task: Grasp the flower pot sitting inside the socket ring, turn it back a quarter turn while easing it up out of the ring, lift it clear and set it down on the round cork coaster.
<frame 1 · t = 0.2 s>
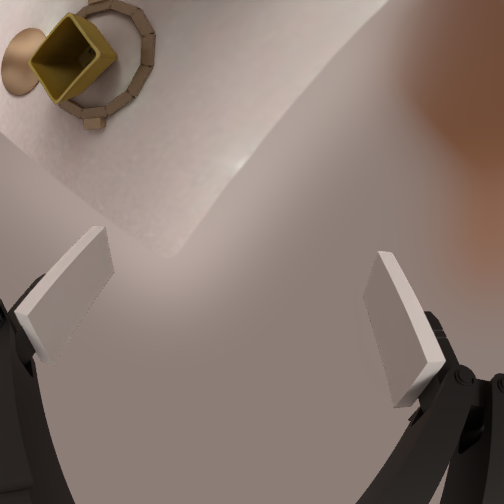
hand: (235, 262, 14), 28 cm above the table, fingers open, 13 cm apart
socket ring: (97, 58, 31), on the table
flower pot: (98, 58, 32), resting in socket ring
coaster: (23, 61, 30), on the table
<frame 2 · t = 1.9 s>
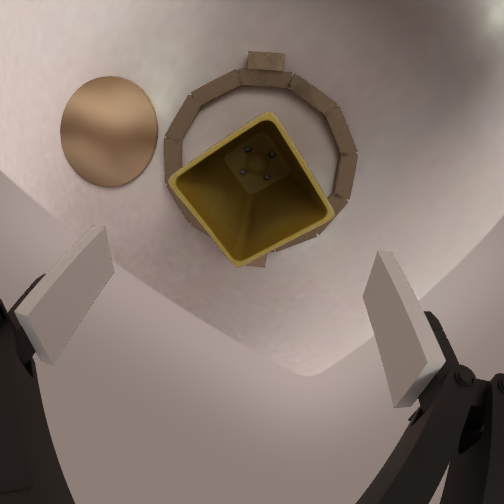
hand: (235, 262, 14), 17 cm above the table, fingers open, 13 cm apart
socket ring: (258, 163, 28), on the table
flower pot: (259, 162, 28), resting in socket ring
coaster: (106, 131, 27), on the table
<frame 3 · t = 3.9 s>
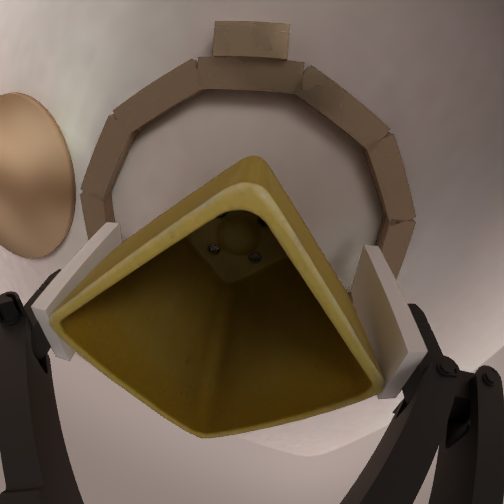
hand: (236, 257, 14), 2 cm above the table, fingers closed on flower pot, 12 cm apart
socket ring: (241, 233, 16), on the table
flower pot: (241, 232, 16), resting in socket ring, touching gripper
coaster: (12, 178, 15), on the table
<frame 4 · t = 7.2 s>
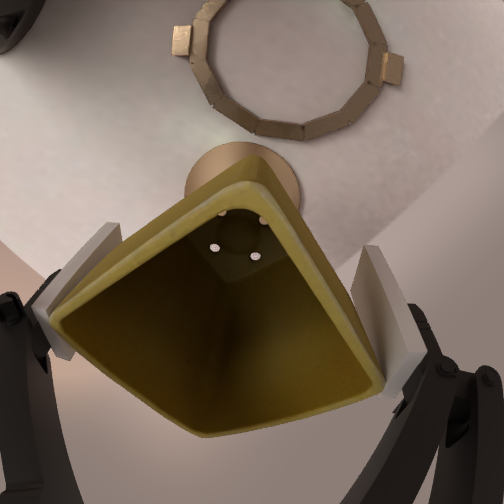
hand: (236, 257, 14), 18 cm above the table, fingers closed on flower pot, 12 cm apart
socket ring: (289, 47, 23), on the table
flower pot: (241, 231, 16), point 15 cm above the table, touching gripper
coaster: (241, 197, 31), on the table
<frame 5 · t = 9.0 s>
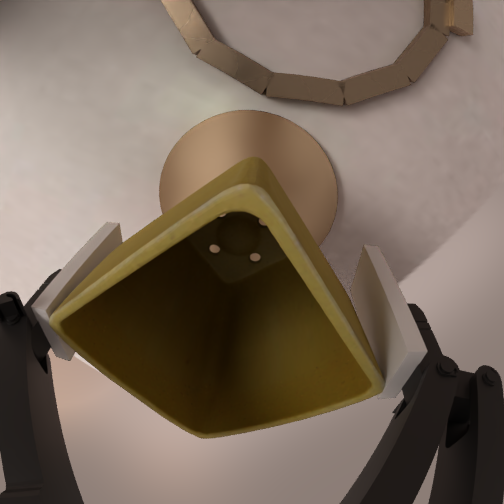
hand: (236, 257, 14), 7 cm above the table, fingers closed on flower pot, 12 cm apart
flower pot: (241, 232, 16), point 5 cm above the table, touching gripper
coaster: (247, 198, 20), on the table
when the fingers open (4 cm above the table, at t = 10.6 s): flower pot drops 1 cm, resting on coaster.
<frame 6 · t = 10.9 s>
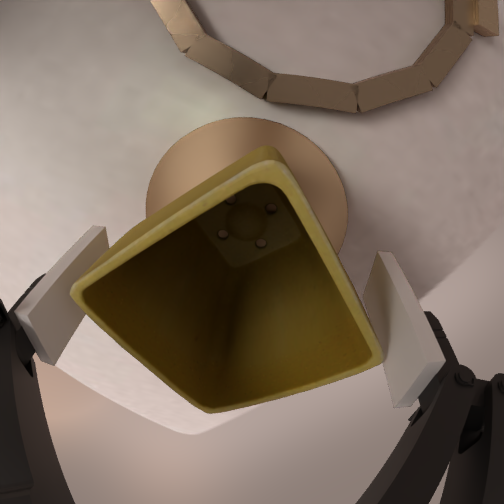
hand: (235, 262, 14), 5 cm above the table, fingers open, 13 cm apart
flower pot: (249, 219, 18), resting on coaster
coaster: (244, 218, 18), on the table
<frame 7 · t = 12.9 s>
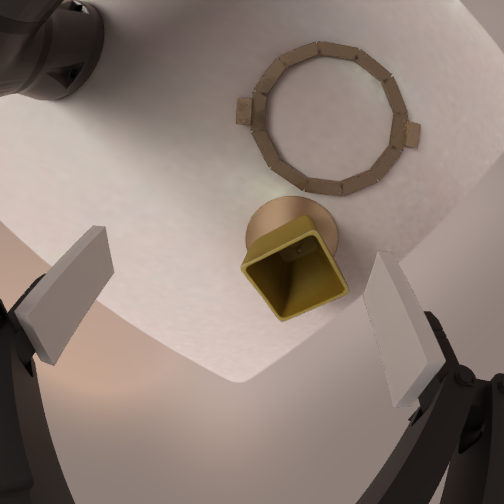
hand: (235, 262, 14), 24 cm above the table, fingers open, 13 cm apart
socket ring: (331, 118, 31), on the table
flower pot: (294, 240, 39), resting on coaster
coaster: (291, 239, 39), on the table
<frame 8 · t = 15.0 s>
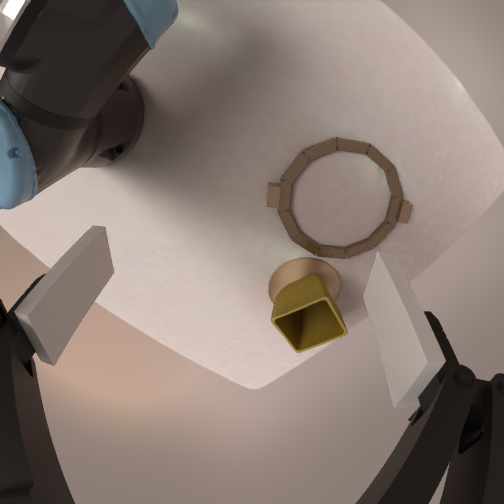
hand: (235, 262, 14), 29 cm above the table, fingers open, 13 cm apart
socket ring: (341, 200, 42), on the table
flower pot: (306, 288, 50), resting on coaster
coaster: (304, 287, 50), on the table
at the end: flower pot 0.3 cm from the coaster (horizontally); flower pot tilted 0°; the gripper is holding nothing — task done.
